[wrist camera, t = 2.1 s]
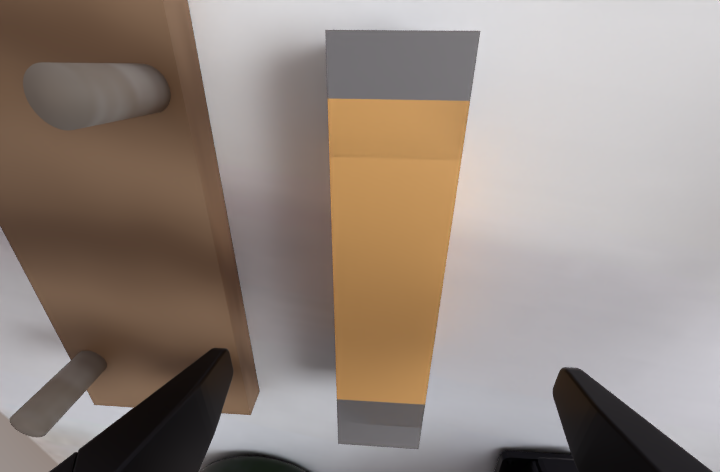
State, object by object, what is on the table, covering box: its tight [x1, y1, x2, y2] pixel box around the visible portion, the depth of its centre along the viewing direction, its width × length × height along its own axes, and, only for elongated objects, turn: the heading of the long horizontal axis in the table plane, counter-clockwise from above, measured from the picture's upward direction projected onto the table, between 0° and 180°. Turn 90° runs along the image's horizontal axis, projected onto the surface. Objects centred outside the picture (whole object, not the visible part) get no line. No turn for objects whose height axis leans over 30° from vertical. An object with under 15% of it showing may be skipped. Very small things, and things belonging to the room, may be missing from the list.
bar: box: [325, 30, 480, 449], centre depth 13 cm, size 16×4×4 cm, turn 179°
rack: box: [0, 0, 260, 437], centre depth 13 cm, size 20×9×5 cm, turn 179°
